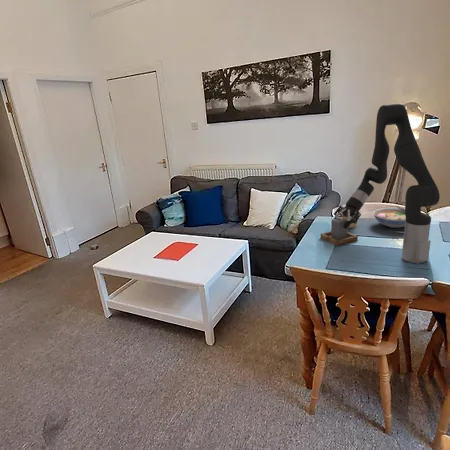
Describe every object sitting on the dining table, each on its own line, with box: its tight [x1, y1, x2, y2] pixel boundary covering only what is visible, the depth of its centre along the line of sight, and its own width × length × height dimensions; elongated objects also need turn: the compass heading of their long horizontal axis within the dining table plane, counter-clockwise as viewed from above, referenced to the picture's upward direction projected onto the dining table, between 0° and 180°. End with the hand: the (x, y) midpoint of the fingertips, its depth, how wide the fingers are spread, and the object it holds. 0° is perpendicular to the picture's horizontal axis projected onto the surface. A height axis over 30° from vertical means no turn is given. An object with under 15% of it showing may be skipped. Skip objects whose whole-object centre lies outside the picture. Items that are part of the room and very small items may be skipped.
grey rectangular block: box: [330, 217, 348, 240], centre depth 166 cm, size 6×6×11 cm
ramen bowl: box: [372, 205, 406, 229], centre depth 179 cm, size 25×23×8 cm
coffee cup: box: [341, 203, 358, 229], centre depth 184 cm, size 9×9×12 cm
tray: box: [320, 230, 359, 247], centre depth 168 cm, size 13×13×2 cm
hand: (338, 225), depth 166 cm, fingers open, 8 cm apart
